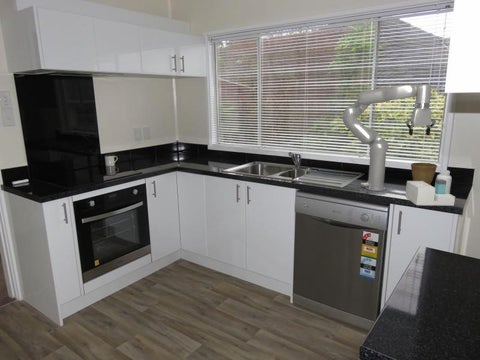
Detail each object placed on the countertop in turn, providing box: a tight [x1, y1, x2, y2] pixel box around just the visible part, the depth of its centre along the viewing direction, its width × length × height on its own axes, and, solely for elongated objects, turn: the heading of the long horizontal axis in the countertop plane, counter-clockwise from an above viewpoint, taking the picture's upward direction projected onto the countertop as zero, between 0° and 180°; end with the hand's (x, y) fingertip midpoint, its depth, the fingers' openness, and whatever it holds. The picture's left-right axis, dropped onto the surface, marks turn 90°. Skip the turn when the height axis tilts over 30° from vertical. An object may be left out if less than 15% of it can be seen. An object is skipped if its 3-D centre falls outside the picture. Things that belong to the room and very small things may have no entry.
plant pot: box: [410, 162, 438, 185], centre depth 226 cm, size 15×15×16 cm
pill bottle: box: [435, 169, 453, 194], centre depth 211 cm, size 8×8×15 cm
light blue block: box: [434, 178, 446, 194], centre depth 198 cm, size 4×4×11 cm
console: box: [405, 180, 456, 206], centre depth 199 cm, size 20×16×10 cm
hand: (419, 135), depth 208 cm, fingers open, 9 cm apart
